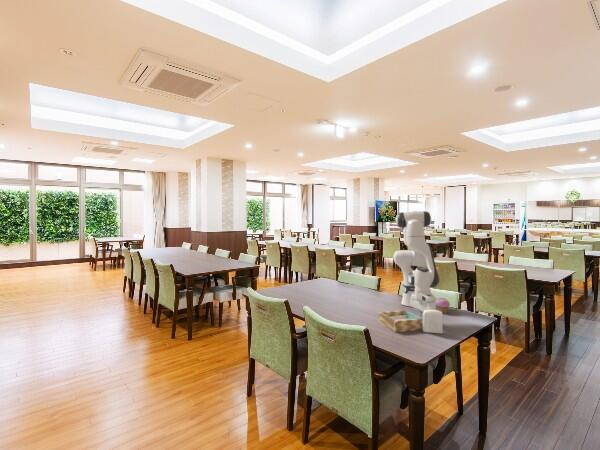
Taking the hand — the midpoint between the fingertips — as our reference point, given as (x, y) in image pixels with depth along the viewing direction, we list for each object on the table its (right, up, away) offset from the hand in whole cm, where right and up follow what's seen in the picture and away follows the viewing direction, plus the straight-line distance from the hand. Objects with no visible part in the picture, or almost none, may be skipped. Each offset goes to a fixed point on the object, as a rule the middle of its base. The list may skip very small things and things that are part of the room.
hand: (422, 318), depth 188 cm
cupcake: (+21, -3, +20) cm, 29 cm away
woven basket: (-15, -3, -4) cm, 16 cm away
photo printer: (0, -4, -15) cm, 15 cm away
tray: (-13, -2, -4) cm, 14 cm away
